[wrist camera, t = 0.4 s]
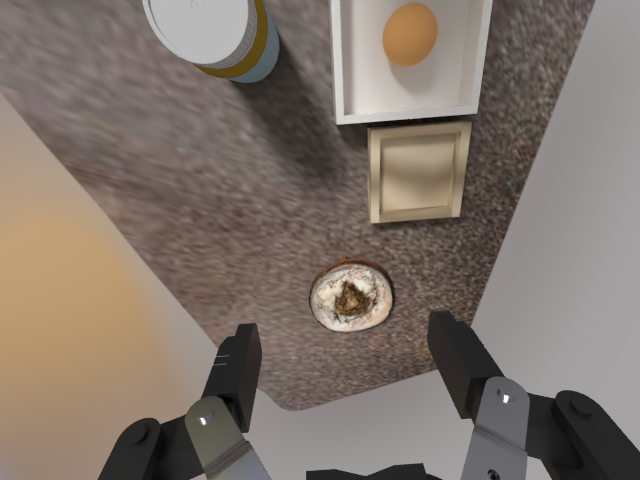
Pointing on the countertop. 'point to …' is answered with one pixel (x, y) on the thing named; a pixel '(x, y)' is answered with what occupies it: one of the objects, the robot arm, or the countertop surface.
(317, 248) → the countertop surface
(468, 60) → the dish
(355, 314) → the sushi roll
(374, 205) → the tray
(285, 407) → the countertop surface
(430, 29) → the ball
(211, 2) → the bottle
